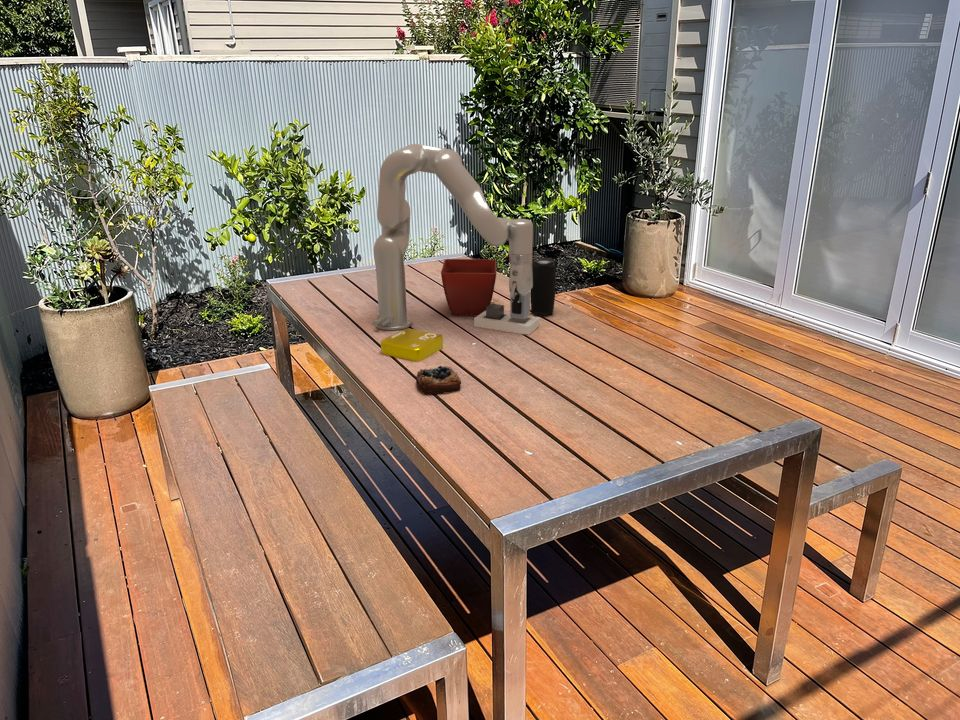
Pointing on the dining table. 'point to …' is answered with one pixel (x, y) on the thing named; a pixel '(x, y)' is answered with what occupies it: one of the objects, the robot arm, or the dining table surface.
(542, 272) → the portable speaker
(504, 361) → the dining table surface
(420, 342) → the element tile
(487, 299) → the plant pot
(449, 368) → the pastry
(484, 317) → the power strip
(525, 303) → the plug
